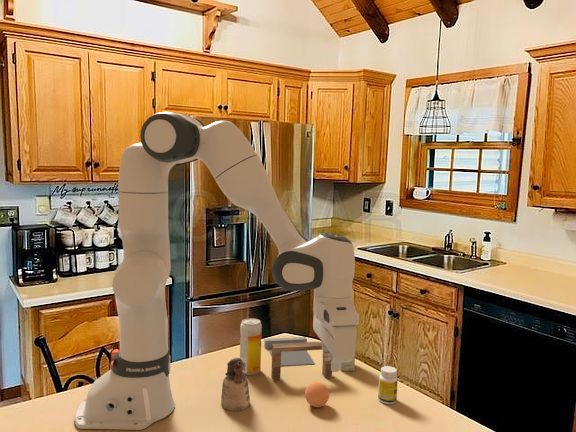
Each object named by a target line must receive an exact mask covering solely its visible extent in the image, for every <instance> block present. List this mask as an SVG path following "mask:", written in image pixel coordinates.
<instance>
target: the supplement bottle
mask: <svg viewBox="0 0 576 432" xmlns="http://www.w3.org/2000/svg"><path fill="white" fill-rule="evenodd" d="M397 375H398V369H397V368H396V367H393V366H389V365H384V366H381V368H380V375H379V377H378V393H377V398H378V401H379V402H380V403H382V404H385V405H393V404H396V403H397V401H398V400H397V398H398V397H397V396H398V382H399V381H398V379H399V378H398V376H397Z"/></svg>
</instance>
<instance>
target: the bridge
mask: <svg viewBox="0 0 576 432" xmlns="http://www.w3.org/2000/svg"><path fill="white" fill-rule="evenodd" d="M271 350H272V356H271V372H270V373H271V374H270V375H271V380H272V382H281V373H282V371H281V369H282V368H281V367H282V366H281V352H288V351H306V350H307V351H320V350H322V345H321V340H320V341H307V342H301V343H282V344H272V348H271ZM331 361H332V356H331V360H327V361H325V360H324V359H323V358H322V367H321V368H322V375H323V378H325V379H332V378H333V372H332V370H331V369H330V362H331Z"/></svg>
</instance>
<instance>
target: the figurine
mask: <svg viewBox="0 0 576 432" xmlns="http://www.w3.org/2000/svg"><path fill="white" fill-rule="evenodd" d="M226 365H227V366H226V367H227V368H226V372H225V374H224V375H225V377H224V379H223V380H222V387H221V397H220V398H221V399H220V404H221V407H222V408H224V409H225V410H227V411H232V412H239V411H243V410H245V409H247V408H248V407H249V406H250V403H251V402H250V401H251V400H250V398H251V397H250V387H249V380H248V377H247V375H245V374H243V372H242V365H243V362H242V360H241V359H240V357H233V358H232V359H230V360H229V361H228V362H227V364H226Z"/></svg>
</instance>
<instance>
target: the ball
mask: <svg viewBox="0 0 576 432" xmlns="http://www.w3.org/2000/svg"><path fill="white" fill-rule="evenodd" d="M304 397H305V400H306V402H307V403H308V404H309V405H310V406H312V407H313V408H322V407H324V406H325V405H326V404H327V402H329V398H330V392H329V388H328V387H327V385H325V384H324V383H323V382H321V381H313V382H311V383H309V384H308V385H307V387H306V388H305V392H304Z"/></svg>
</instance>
